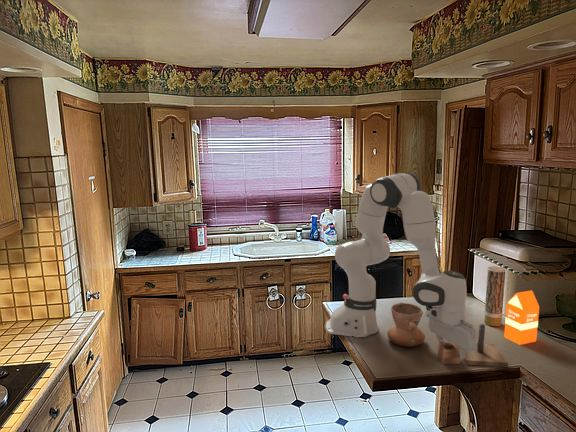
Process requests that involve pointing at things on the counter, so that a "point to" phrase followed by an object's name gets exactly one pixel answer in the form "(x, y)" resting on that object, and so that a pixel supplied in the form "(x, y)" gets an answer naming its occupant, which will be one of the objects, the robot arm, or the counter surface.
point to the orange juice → (522, 318)
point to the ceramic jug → (406, 325)
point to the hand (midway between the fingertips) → (451, 352)
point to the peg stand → (484, 353)
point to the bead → (449, 353)
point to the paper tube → (494, 296)
